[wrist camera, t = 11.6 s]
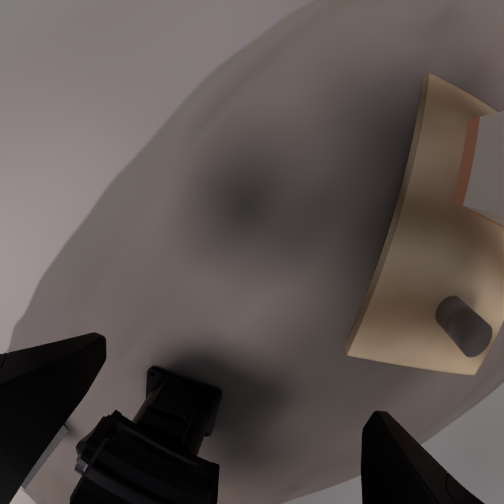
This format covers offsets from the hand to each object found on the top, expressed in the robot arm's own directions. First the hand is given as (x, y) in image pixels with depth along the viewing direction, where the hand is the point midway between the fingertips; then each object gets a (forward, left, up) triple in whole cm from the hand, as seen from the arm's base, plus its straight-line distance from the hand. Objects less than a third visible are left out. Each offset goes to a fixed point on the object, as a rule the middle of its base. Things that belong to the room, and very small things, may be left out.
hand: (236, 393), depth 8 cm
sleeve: (+11, -13, -11) cm, 20 cm away
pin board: (+6, -13, -12) cm, 19 cm away
